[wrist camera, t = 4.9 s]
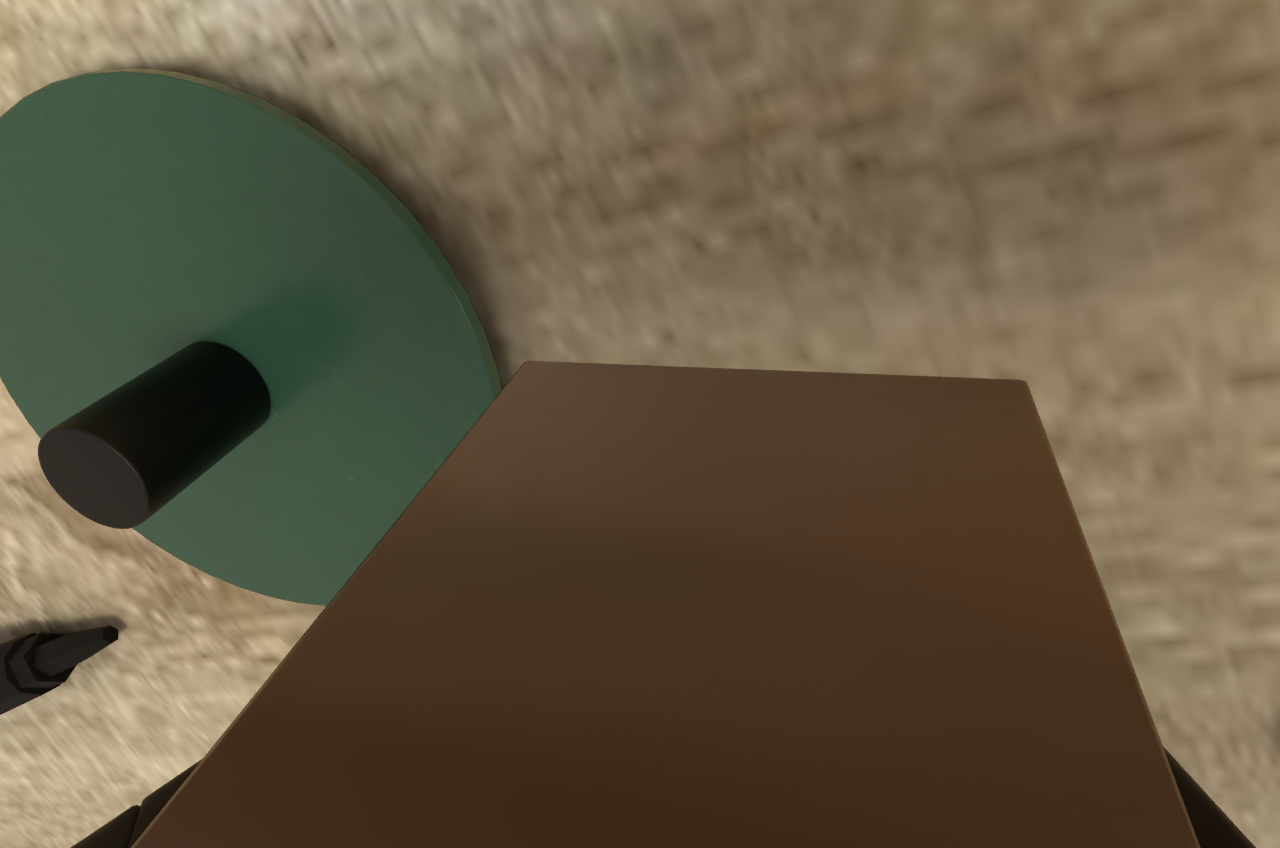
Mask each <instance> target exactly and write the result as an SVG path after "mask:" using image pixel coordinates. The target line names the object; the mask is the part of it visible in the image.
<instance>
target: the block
mask: <svg viewBox="0 0 1280 848" xmlns="http://www.w3.org/2000/svg"><path fill="white" fill-rule="evenodd" d="M131 848H1200V845H1199V842H1198V840H1197V837H1196V834H1195V832H1194V829H1193V826H1192V824H1191V821H1190V818H1189V815H1188V813H1187V810H1186V807H1185V805H1184V802H1183V799H1182V797H1181V794H1180V791H1179V789H1178V786H1177V783H1176V781H1175V778H1174V775H1173V773H1172V770H1171V767H1170V765H1169V762H1168V759H1167V757H1166V754H1165V751H1164V749H1163V746H1162V743H1161V741H1160V738H1159V735H1158V733H1157V730H1156V727H1155V724H1154V722H1153V719H1152V716H1151V714H1150V711H1149V708H1148V706H1147V703H1146V700H1145V698H1144V695H1143V692H1142V690H1141V687H1140V684H1139V682H1138V679H1137V676H1136V674H1135V671H1134V668H1133V666H1132V663H1131V660H1130V658H1129V655H1128V652H1127V650H1126V647H1125V644H1124V641H1123V639H1122V636H1121V633H1120V631H1119V628H1118V625H1117V623H1116V620H1115V617H1114V615H1113V612H1112V609H1111V607H1110V604H1109V601H1108V599H1107V596H1106V593H1105V591H1104V588H1103V585H1102V583H1101V580H1100V577H1099V575H1098V572H1097V569H1096V567H1095V564H1094V561H1093V559H1092V556H1091V553H1090V550H1089V548H1088V545H1087V542H1086V540H1085V537H1084V534H1083V532H1082V529H1081V526H1080V524H1079V521H1078V518H1077V516H1076V513H1075V510H1074V508H1073V505H1072V502H1071V500H1070V497H1069V494H1068V492H1067V489H1066V486H1065V484H1064V481H1063V478H1062V476H1061V473H1060V470H1059V467H1058V465H1057V462H1056V459H1055V457H1054V454H1053V451H1052V449H1051V446H1050V443H1049V441H1048V438H1047V435H1046V433H1045V430H1044V427H1043V425H1042V422H1041V419H1040V417H1039V414H1038V411H1037V409H1036V406H1035V403H1034V401H1033V398H1032V395H1031V393H1030V390H1029V387H1028V385H1027V382H1025V381H1022V380H1012V379H987V378H961V377H935V376H909V375H883V374H857V373H831V372H805V371H779V370H753V369H727V368H701V367H675V366H649V365H623V364H597V363H571V362H546V361H527V362H525V363H523V365H522V366H521V367H520V368H519V370H518V371H517V372H516V373H515V374H514V376H513V377H512V378H511V379H510V381H509V382H508V383H507V384H506V386H505V387H504V388H503V389H502V390H501V392H500V393H499V394H498V395H497V397H496V398H495V399H494V400H493V402H492V403H491V404H490V405H489V407H488V408H487V409H486V410H485V411H484V413H483V414H482V415H481V416H480V418H479V419H478V420H477V421H476V423H475V424H474V425H473V426H472V427H471V429H470V430H469V431H468V432H467V434H466V435H465V436H464V437H463V439H462V440H461V441H460V442H459V444H458V445H457V446H456V447H455V448H454V450H453V451H452V452H451V453H450V455H449V456H448V457H447V458H446V460H445V461H444V462H443V463H442V464H441V466H440V467H439V468H438V469H437V471H436V472H435V473H434V474H433V476H432V477H431V478H430V479H429V481H428V482H427V483H426V484H425V485H424V487H423V488H422V489H421V490H420V492H419V493H418V494H417V495H416V497H415V498H414V499H413V500H412V502H411V503H410V504H409V505H408V506H407V508H406V509H405V510H404V511H403V513H402V514H401V515H400V516H399V518H398V519H397V520H396V521H395V522H394V524H393V525H392V526H391V527H390V529H389V530H388V531H387V532H386V534H385V535H384V536H383V537H382V539H381V540H380V541H379V542H378V543H377V545H376V546H375V547H374V548H373V550H372V551H371V552H370V553H369V555H368V556H367V557H366V558H365V559H364V561H363V562H362V563H361V564H360V566H359V567H358V568H357V569H356V571H355V572H354V573H353V574H352V576H351V577H350V578H349V579H348V580H347V582H346V583H345V584H344V585H343V587H342V588H341V589H340V590H339V592H338V593H337V594H336V595H335V596H334V598H333V599H332V600H331V601H330V603H329V604H328V605H327V606H326V608H325V609H324V610H323V611H322V613H321V614H320V615H319V616H318V617H317V619H316V620H315V621H314V622H313V624H312V625H311V626H310V627H309V629H308V630H307V631H306V632H305V634H304V635H303V636H302V637H301V638H300V640H299V641H298V642H297V643H296V645H295V646H294V647H293V648H292V650H291V651H290V652H289V653H288V654H287V656H286V657H285V658H284V659H283V661H282V662H281V663H280V664H279V666H278V667H277V668H276V669H275V671H274V672H273V673H272V674H271V675H270V677H269V678H268V679H267V680H266V682H265V683H264V684H263V685H262V687H261V688H260V689H259V690H258V691H257V693H256V694H255V695H254V696H253V698H252V699H251V700H250V701H249V703H248V704H247V705H246V706H245V708H244V709H243V710H242V711H241V712H240V714H239V715H238V716H237V717H236V719H235V720H234V721H233V722H232V724H231V725H230V726H229V727H228V728H227V730H226V731H225V732H224V733H223V735H222V736H221V737H220V738H219V740H218V741H217V742H216V743H215V745H214V746H213V747H212V748H211V749H210V751H209V752H208V753H207V754H206V756H205V757H204V758H203V759H202V761H201V762H200V763H199V764H198V766H197V767H196V768H195V769H194V770H193V772H192V773H191V774H190V775H189V777H188V778H187V779H186V780H185V782H184V783H183V784H182V785H181V786H180V788H179V789H178V790H177V791H176V793H175V794H174V795H173V796H172V798H171V799H170V800H169V801H168V803H167V804H166V805H165V806H164V807H163V809H162V810H161V811H160V812H159V814H158V815H157V816H156V817H155V819H154V820H153V821H152V822H151V823H150V825H149V826H148V827H147V828H146V830H145V831H144V832H143V833H142V835H141V836H140V837H139V838H138V840H137V841H136V842H135V843H134V844H133V846H132V847H131Z"/></svg>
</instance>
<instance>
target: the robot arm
mask: <svg viewBox="0 0 1280 848" xmlns="http://www.w3.org/2000/svg"><path fill="white" fill-rule="evenodd" d="M1163 749H1164V751H1165V754H1166V757H1167V759H1168V762H1169V765H1170V767H1171V770H1172V773H1173V775H1174V778H1175V781H1176V783H1177V786H1178V789H1179V791H1180V794H1181V797H1182V799H1183V802H1184V805H1185V807H1186V810H1187V813H1188V815H1189V818H1190V821H1191V824H1192V826H1193V829H1194V832H1195V834H1196V837H1197V840H1198V842H1199V845H1200V848H1256V847H1255V846H1254V845H1253V844H1252V843H1251V842H1250V841H1249V840H1248V839H1247V837H1246V836H1245V835H1244V834H1243V833H1242V832H1241V831H1240V830H1239V829H1238V828H1237V827H1236V825H1235V824H1234V823H1233V822H1232V821H1231V820H1230V819H1229V818H1228V817H1227V816H1226V815H1225V813H1224V812H1223V811H1222V810H1221V809H1220V808H1219V807H1218V806H1217V805H1216V804H1215V802H1214V801H1213V800H1212V799H1211V798H1210V797H1209V796H1208V795H1207V794H1206V793H1205V792H1204V790H1203V789H1202V788H1201V787H1200V786H1199V785H1198V784H1197V783H1196V782H1195V781H1194V780H1193V778H1192V777H1191V776H1190V775H1189V774H1188V773H1187V772H1186V771H1185V770H1184V769H1183V768H1182V766H1181V765H1180V764H1179V763H1178V762H1177V761H1176V760H1175V759H1174V758H1173V757H1172V756H1171V754H1170V753H1169V752H1168V751H1167V750H1166V749H1165V748H1164V747H1163ZM201 761H202V760H200V761H199V762H197V763H196V764H194V765H193V766H191V767H190V768H188V769H187V770H185V771H184V772H182V773H181V774H179V775H178V776H177V777H175V778H174V779H172V780H171V781H169V782H168V783H166V784H165V785H163V786H162V787H160V788H159V789H157V790H156V791H154V792H153V793H151V794H150V795H149V796H147V797H146V798H145V799H144V800H143V801H142V804H141V807H140V806H138V805H135V806H132V807H130V808H129V809H127V810H126V811H125V812H123V813H122V814H120V815H119V816H117V817H116V818H114V819H113V820H111V821H110V822H108V823H107V824H105V825H104V826H102V827H101V828H99V829H98V830H97V831H95V832H94V833H92V834H91V835H89V836H88V837H86V838H85V839H83V840H82V841H80V842H79V843H77V844H76V845H74V846H72V847H71V848H131V847H132V846H133V844H134V843H135V842H136V841H137V840H138V838H139V837H140V836H141V835H142V833H143V832H144V831H145V830H146V828H147V827H148V826H149V825H150V823H151V822H152V821H153V820H154V819H155V817H156V816H157V815H158V814H159V812H160V811H161V810H162V809H163V807H164V806H165V805H166V804H167V803H168V801H169V800H170V799H171V798H172V796H173V795H174V794H175V793H176V791H177V790H178V789H179V788H180V786H181V785H182V784H183V783H184V782H185V780H186V779H187V778H188V777H189V775H190V774H191V773H192V772H193V770H194V769H195V768H196V767H197V766H198V764H199V763H200V762H201Z"/></svg>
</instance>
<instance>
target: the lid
mask: <svg viewBox="0 0 1280 848" xmlns="http://www.w3.org/2000/svg"><path fill="white" fill-rule="evenodd" d="M0 378H1V379H2V381H3V383H4V385H5V387H6V389H7V390H8V392H9V394H10V395H11V397H12V399H13V400H14V402H15V403H16V405H17V406H18V408H19V409H20V411H21V412H22V414H23V415H24V417H25V418H26V420H27V421H28V423H29V424H30V425H31V427H32V428H33V429H34V431H35V432H36V433H37V434H38V436H39V437H40V438H41V440H40V443H39V447H38V457H39V462H40V465H41V468H42V470H43V472H44V474H45V476H46V478H47V480H48V481H49V483H50V484H51V486H52V487H53V488H54V490H55V491H56V492H57V493H58V494H59V495H60V497H61V498H62V499H63V500H64V501H65V502H67V503H68V504H69V505H70V506H71V507H72V508H74V509H75V510H76V511H78V512H79V513H80V514H82V515H84V516H85V517H87V518H89V519H91V520H92V521H94V522H97V523H99V524H102V525H105V526H108V527H112V528H118V529H128V528H133V529H134V530H136V531H137V532H138V533H140V534H141V535H143V536H144V537H145V538H147V539H148V540H150V541H151V542H152V543H154V544H155V545H157V546H159V547H160V548H162V549H164V550H165V551H167V552H169V553H170V554H172V555H173V556H175V557H177V558H178V559H180V560H182V561H184V562H186V563H188V564H189V565H191V566H193V567H195V568H197V569H199V570H201V571H203V572H205V573H207V574H209V575H211V576H214V577H216V578H218V579H221V580H223V581H226V582H228V583H231V584H233V585H235V586H238V587H240V588H244V589H247V590H250V591H253V592H256V593H259V594H263V595H266V596H269V597H274V598H278V599H283V600H288V601H292V602H297V603H306V604H315V605H323V606H327V605H328V604H329V603H330V601H331V600H332V599H333V598H334V596H335V595H336V594H337V593H338V592H339V590H340V589H341V588H342V587H343V585H344V584H345V583H346V582H347V580H348V579H349V578H350V577H351V576H352V574H353V573H354V572H355V571H356V569H357V568H358V567H359V566H360V564H361V563H362V562H363V561H364V559H365V558H366V557H367V556H368V555H369V553H370V552H371V551H372V550H373V548H374V547H375V546H376V545H377V543H378V542H379V541H380V540H381V539H382V537H383V536H384V535H385V534H386V532H387V531H388V530H389V529H390V527H391V526H392V525H393V524H394V522H395V521H396V520H397V519H398V518H399V516H400V515H401V514H402V513H403V511H404V510H405V509H406V508H407V506H408V505H409V504H410V503H411V502H412V500H413V499H414V498H415V497H416V495H417V494H418V493H419V492H420V490H421V489H422V488H423V487H424V485H425V484H426V483H427V482H428V481H429V479H430V478H431V477H432V476H433V474H434V473H435V472H436V471H437V469H438V468H439V467H440V466H441V464H442V463H443V462H444V461H445V460H446V458H447V457H448V456H449V455H450V453H451V452H452V451H453V450H454V448H455V447H456V446H457V445H458V444H459V442H460V441H461V440H462V439H463V437H464V436H465V435H466V434H467V432H468V431H469V430H470V429H471V427H472V426H473V425H474V424H475V423H476V421H477V420H478V419H479V418H480V416H481V415H482V414H483V413H484V411H485V410H486V409H487V408H488V407H489V405H490V404H491V403H492V402H493V400H494V399H495V398H496V397H497V395H498V394H499V393H500V392H501V385H500V380H499V374H498V369H497V366H496V363H495V360H494V357H493V354H492V351H491V348H490V345H489V342H488V339H487V336H486V333H485V331H484V328H483V326H482V324H481V322H480V320H479V318H478V316H477V314H476V311H475V309H474V307H473V305H472V303H471V301H470V299H469V296H468V294H467V292H466V291H465V289H464V287H463V286H462V284H461V282H460V281H459V279H458V278H457V276H456V274H455V273H454V271H453V269H452V268H451V266H450V264H449V263H448V261H447V259H446V258H445V256H444V255H443V253H442V252H441V251H440V249H439V248H438V247H437V245H436V244H435V243H434V241H433V240H432V239H431V237H430V236H429V235H428V234H427V232H426V231H425V230H424V228H423V227H422V226H421V224H420V223H419V222H418V220H417V219H416V218H415V217H414V216H413V214H412V213H411V212H410V211H409V210H408V209H407V208H406V207H405V206H404V205H403V204H402V203H401V202H400V201H399V200H398V199H397V197H396V196H395V195H394V194H393V193H392V192H391V191H390V190H389V189H388V188H387V187H386V186H385V185H384V184H383V183H382V182H381V181H380V180H379V179H378V178H377V177H376V176H375V175H373V174H372V173H371V172H370V171H369V170H368V169H366V168H365V167H364V166H363V165H362V164H361V163H359V162H358V161H357V160H356V159H355V158H354V157H352V156H351V155H350V154H349V153H348V152H347V151H346V150H344V149H343V148H342V147H340V146H339V145H337V144H336V143H334V142H333V141H331V140H330V139H329V138H327V137H326V136H324V135H323V134H321V133H320V132H318V131H317V130H316V129H314V128H313V127H311V126H310V125H308V124H307V123H305V122H304V121H302V120H300V119H298V118H296V117H295V116H293V115H291V114H289V113H287V112H285V111H283V110H282V109H280V108H278V107H276V106H274V105H272V104H270V103H269V102H267V101H265V100H263V99H261V98H258V97H256V96H253V95H250V94H248V93H245V92H243V91H240V90H238V89H235V88H233V87H230V86H227V85H225V84H222V83H220V82H216V81H212V80H208V79H204V78H200V77H196V76H192V75H188V74H184V73H179V72H174V71H162V70H151V69H140V68H132V69H120V70H107V71H97V72H92V73H86V74H82V75H79V76H75V77H71V78H68V79H64V80H61V81H57V82H53V83H51V84H49V85H47V86H45V87H43V88H41V89H39V90H37V91H35V92H33V93H32V94H30V95H28V96H26V97H24V98H22V99H21V100H20V101H19V102H18V103H17V104H15V105H14V106H13V107H12V108H11V109H10V110H8V111H7V112H6V113H5V114H4V115H2V116H1V117H0Z"/></svg>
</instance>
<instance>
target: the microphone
mask: <svg viewBox="0 0 1280 848" xmlns="http://www.w3.org/2000/svg"><path fill="white" fill-rule="evenodd" d="M116 640H118V630H117V629H116V628H114V627H113V626H106V627H100V628H95V629H90V630H85V631H79V632H74V633H71V634H68V635H60V634H44V633H40V634H35V633H33V634H30V635H27V636H24V637H21V638H18V639H15V640H12V641H9V642H6V643H3V644H0V715H1V714H3V713H5V712H7V711H9V710H11V709H13V708H15V707H18V706H20V705H22V704H24V703H26V702H28V701H30V700H32V699H34V698H36V697H39V696H41V695H43V694H45V693H46V692H48V691H50V690H52V689H54V688H56V687H58V686H60V684H61V683H64V682H65V681H66V680H67V678H68V677H69V675H70V674H71V672H72V671H73V670H74V668H75V667H76V665H77V664H78V663H80V662H82V661H84V660H86V659H88V658H89V657H91V656H93V655H94V654H96V653H97V652H99V651H100V650H102V649H104V648H105V647H107V646H108V645H110V644H111V643H113V642H115V641H116Z"/></svg>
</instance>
